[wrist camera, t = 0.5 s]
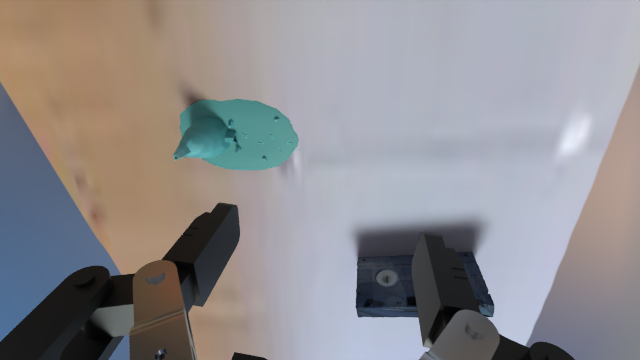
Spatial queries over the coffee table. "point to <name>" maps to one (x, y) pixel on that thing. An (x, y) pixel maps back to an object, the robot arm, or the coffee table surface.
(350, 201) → the coffee table surface
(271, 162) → the diorama
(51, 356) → the robot arm
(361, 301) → the vhs cassette tape
